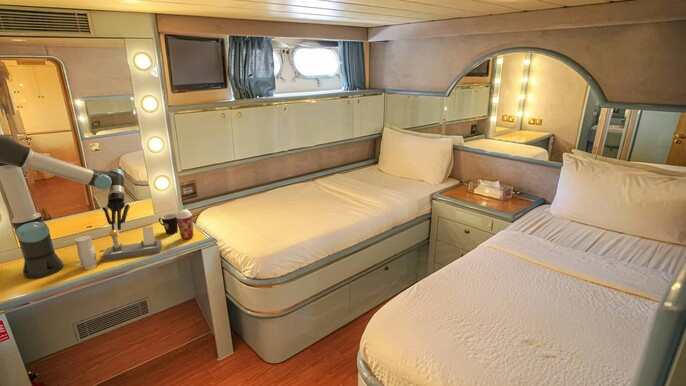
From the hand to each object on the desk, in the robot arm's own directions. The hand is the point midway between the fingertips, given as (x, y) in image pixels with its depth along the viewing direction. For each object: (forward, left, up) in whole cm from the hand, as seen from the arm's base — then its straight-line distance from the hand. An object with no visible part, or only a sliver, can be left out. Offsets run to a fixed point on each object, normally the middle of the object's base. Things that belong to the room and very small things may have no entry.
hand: (116, 235), depth 194 cm
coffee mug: (+22, +24, -11) cm, 34 cm away
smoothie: (+32, +10, -11) cm, 36 cm away
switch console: (+6, 0, -11) cm, 12 cm away
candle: (-12, -9, -11) cm, 19 cm away
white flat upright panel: (+14, 0, -8) cm, 16 cm away
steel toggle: (-1, 0, -7) cm, 8 cm away
